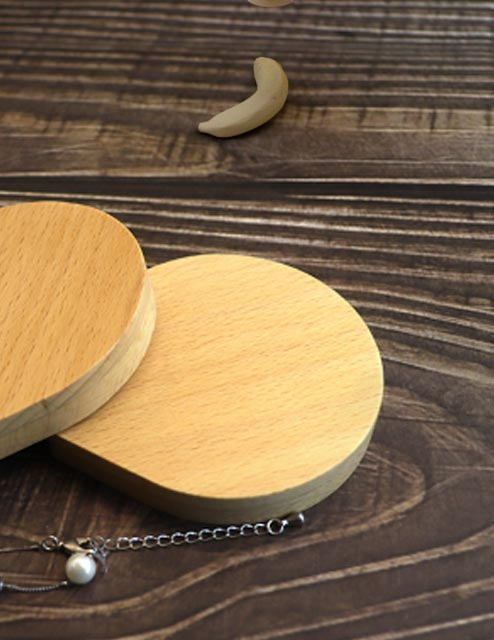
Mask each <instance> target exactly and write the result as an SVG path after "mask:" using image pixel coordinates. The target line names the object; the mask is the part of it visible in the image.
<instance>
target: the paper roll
mask: <svg viewBox="0 0 494 640" xmlns="http://www.w3.org/2000/svg"><path fill="white" fill-rule="evenodd" d="M295 1H296V0H247V2H249V3H250V4H252V5H254V6H256V7H257V6H258V7H260V8H261V7H263V8H278V7H284V6H288V5H290V4H291V3H293V2H295Z"/></svg>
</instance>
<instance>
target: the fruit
mask: <svg viewBox="0 0 494 640" xmlns="http://www.w3.org/2000/svg"><path fill="white" fill-rule="evenodd" d="M253 75H254V79H255V83H256V89H257V90H256V92H254V93H253V94H252V95H251V96H250V97H248V98H246V99H245V100H243V101H242V102H240V103H238V104H236V105H234V106H232V107H230V108H228V109H226V110H223V111H222V112H220V113H218V114H216V115H214V116H213V117H212V118H211V119H209V120H207V121H203V122H199V124H198V131H199V132H200V133H206V134H209V135H211V136H213V137H217V138H230V137H234V136H235V137H236V136H239V135H242V134H244V133H246V132H250V131H253V130H254V129H256V128H258V127H260V126H262V125H263V124H265V123H267V122H268V121H269V120H270V119H272V118H273V117H275V116H276V115H277V114H278V113H279V111H281V109H282V108H283V107H284V105H285V103H286V100H287V98H288V95H289V79H288V76H287V75H286V72H285V70H284V69H283V67H282V65H281V64H280V63H279V62H277V61H276V60H275V59H273V58H270V57H264V56H259V57H257V58H255V60H254V63H253Z"/></svg>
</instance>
